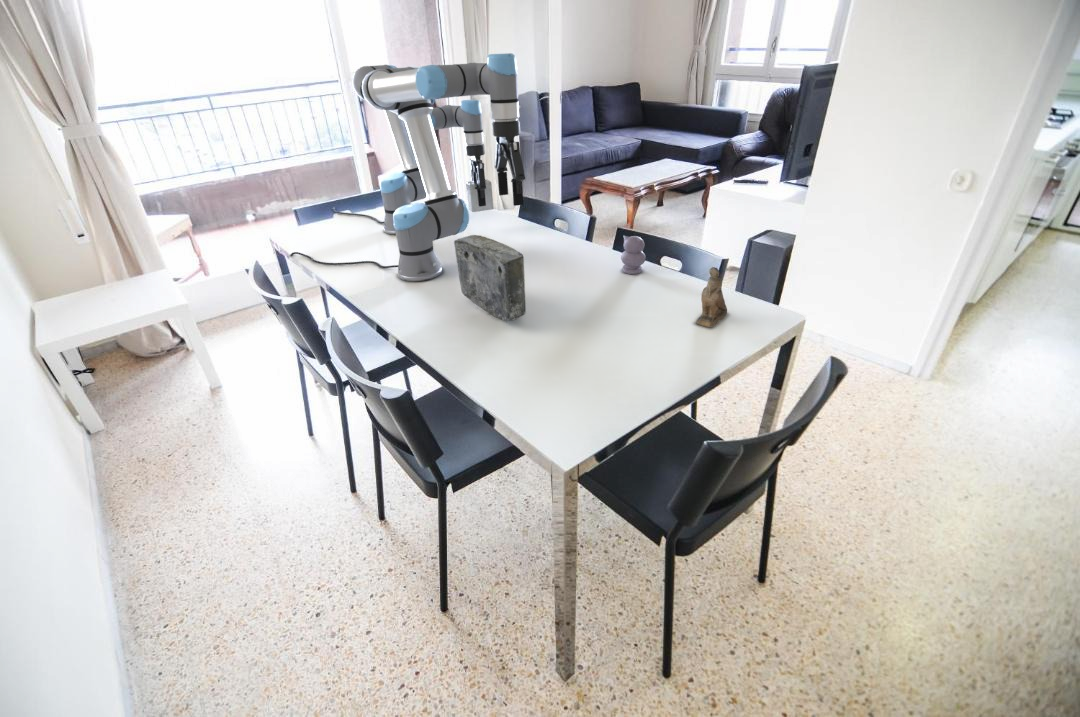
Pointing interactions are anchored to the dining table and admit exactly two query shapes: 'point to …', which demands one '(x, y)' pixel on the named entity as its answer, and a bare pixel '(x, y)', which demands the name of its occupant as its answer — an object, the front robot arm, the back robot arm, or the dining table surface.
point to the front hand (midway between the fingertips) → (510, 199)
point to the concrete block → (492, 276)
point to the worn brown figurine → (712, 301)
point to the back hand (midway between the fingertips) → (480, 204)
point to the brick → (473, 196)
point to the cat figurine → (633, 254)
